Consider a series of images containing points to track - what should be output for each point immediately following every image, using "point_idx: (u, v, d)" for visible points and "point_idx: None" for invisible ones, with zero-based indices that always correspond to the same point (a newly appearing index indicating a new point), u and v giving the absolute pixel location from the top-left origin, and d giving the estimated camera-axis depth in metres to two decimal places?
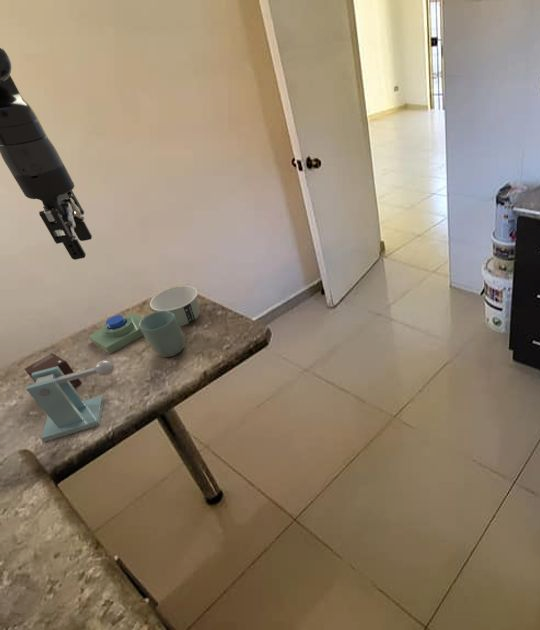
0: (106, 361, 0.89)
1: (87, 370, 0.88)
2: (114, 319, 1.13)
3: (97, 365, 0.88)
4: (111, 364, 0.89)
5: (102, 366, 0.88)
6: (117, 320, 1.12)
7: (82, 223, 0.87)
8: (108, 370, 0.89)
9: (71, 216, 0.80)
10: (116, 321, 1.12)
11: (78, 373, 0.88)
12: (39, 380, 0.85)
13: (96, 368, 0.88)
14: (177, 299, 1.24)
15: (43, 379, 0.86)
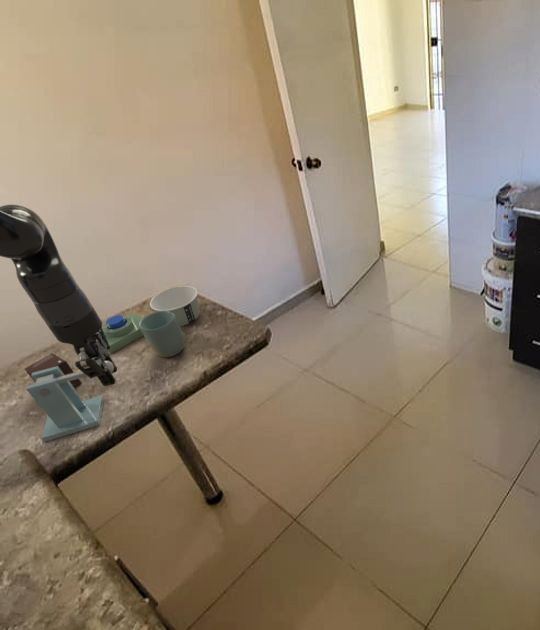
0: (106, 361, 0.89)
1: None
2: (114, 319, 1.13)
3: None
4: (111, 364, 0.89)
5: None
6: (117, 320, 1.12)
7: (108, 359, 0.91)
8: None
9: (100, 352, 0.86)
10: (116, 321, 1.12)
11: (78, 373, 0.88)
12: (39, 380, 0.85)
13: None
14: (177, 299, 1.24)
15: (43, 379, 0.86)
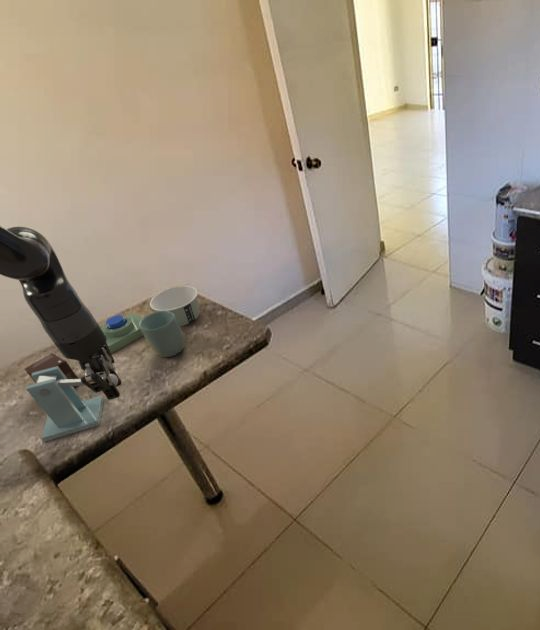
0: (113, 375, 0.91)
1: None
2: (114, 319, 1.13)
3: None
4: (117, 379, 0.92)
5: None
6: (117, 320, 1.12)
7: (113, 373, 0.93)
8: None
9: (105, 366, 0.88)
10: (116, 321, 1.12)
11: None
12: (41, 378, 0.85)
13: None
14: (177, 299, 1.24)
15: (46, 378, 0.86)
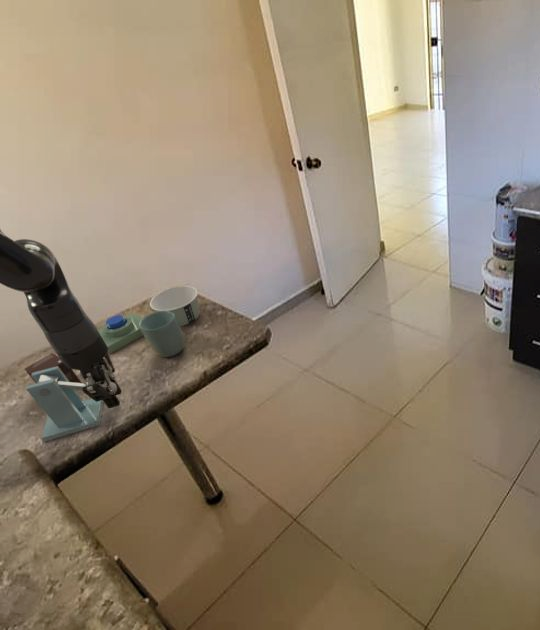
0: (114, 384, 0.92)
1: None
2: (114, 319, 1.13)
3: None
4: (116, 388, 0.93)
5: None
6: (117, 320, 1.12)
7: (113, 382, 0.94)
8: None
9: (106, 376, 0.89)
10: (116, 321, 1.12)
11: (82, 385, 0.89)
12: (43, 378, 0.85)
13: (103, 387, 0.91)
14: (177, 299, 1.24)
15: (47, 378, 0.86)
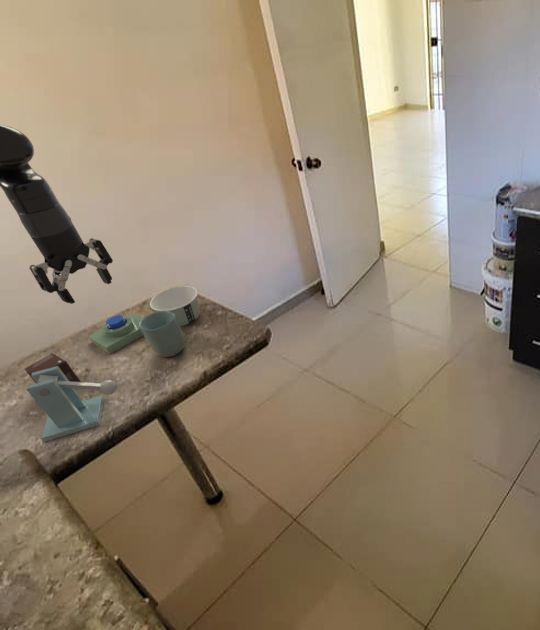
0: (114, 382, 0.92)
1: (92, 384, 0.90)
2: (114, 319, 1.13)
3: (105, 383, 0.91)
4: (117, 386, 0.93)
5: (110, 386, 0.91)
6: (117, 320, 1.12)
7: (101, 271, 0.99)
8: (112, 391, 0.92)
9: (65, 271, 0.92)
10: (116, 321, 1.12)
11: (82, 384, 0.89)
12: (43, 378, 0.85)
13: (103, 385, 0.91)
14: (177, 299, 1.24)
15: (47, 378, 0.86)
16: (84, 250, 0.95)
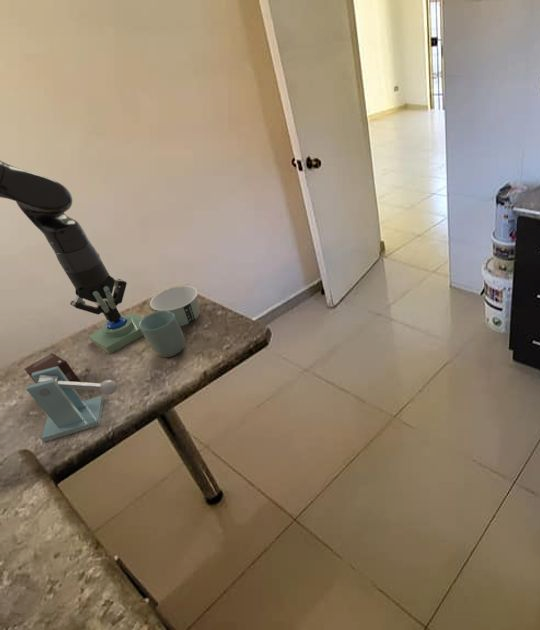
0: (114, 382, 0.92)
1: (92, 384, 0.90)
2: None
3: (105, 383, 0.91)
4: (117, 386, 0.93)
5: (110, 386, 0.91)
6: (117, 322, 1.12)
7: (111, 311, 1.10)
8: (112, 391, 0.92)
9: (99, 299, 1.06)
10: (117, 323, 1.12)
11: (82, 384, 0.89)
12: (43, 378, 0.85)
13: (103, 385, 0.91)
14: (177, 299, 1.24)
15: (47, 378, 0.86)
16: (110, 282, 1.08)
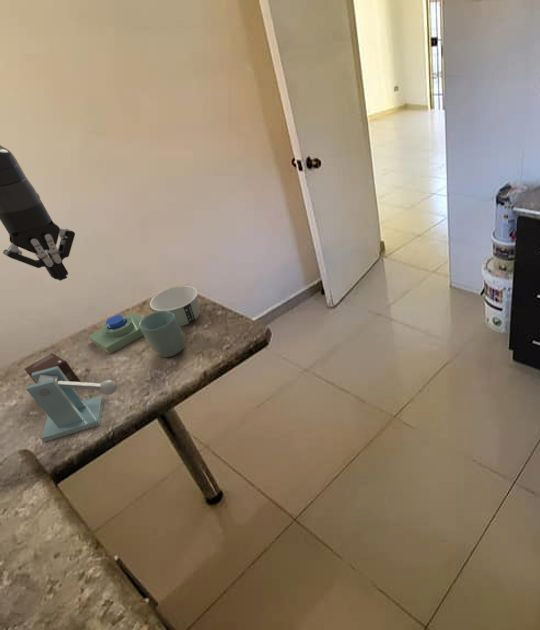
0: (114, 382, 0.92)
1: (92, 384, 0.90)
2: (114, 319, 1.13)
3: (105, 383, 0.91)
4: (117, 386, 0.93)
5: (110, 386, 0.91)
6: (117, 320, 1.12)
7: (55, 265, 0.94)
8: (112, 391, 0.92)
9: (39, 249, 0.90)
10: (116, 321, 1.12)
11: (82, 384, 0.89)
12: (43, 378, 0.85)
13: (103, 385, 0.91)
14: (177, 299, 1.24)
15: (47, 378, 0.86)
16: (53, 230, 0.91)
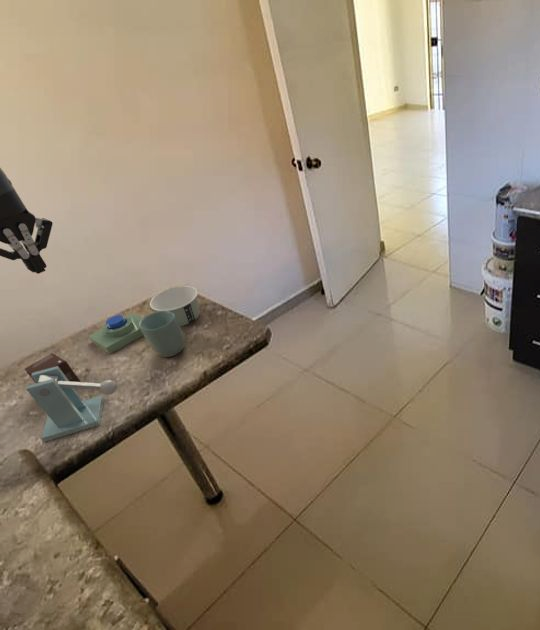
0: (114, 382, 0.92)
1: (92, 384, 0.90)
2: (114, 319, 1.13)
3: (105, 383, 0.91)
4: (117, 386, 0.93)
5: (110, 386, 0.91)
6: (117, 320, 1.12)
7: (32, 257, 0.88)
8: (112, 391, 0.92)
9: (13, 240, 0.84)
10: (116, 321, 1.12)
11: (82, 384, 0.89)
12: (43, 378, 0.85)
13: (103, 385, 0.91)
14: (177, 299, 1.24)
15: (47, 378, 0.86)
16: (28, 219, 0.85)
